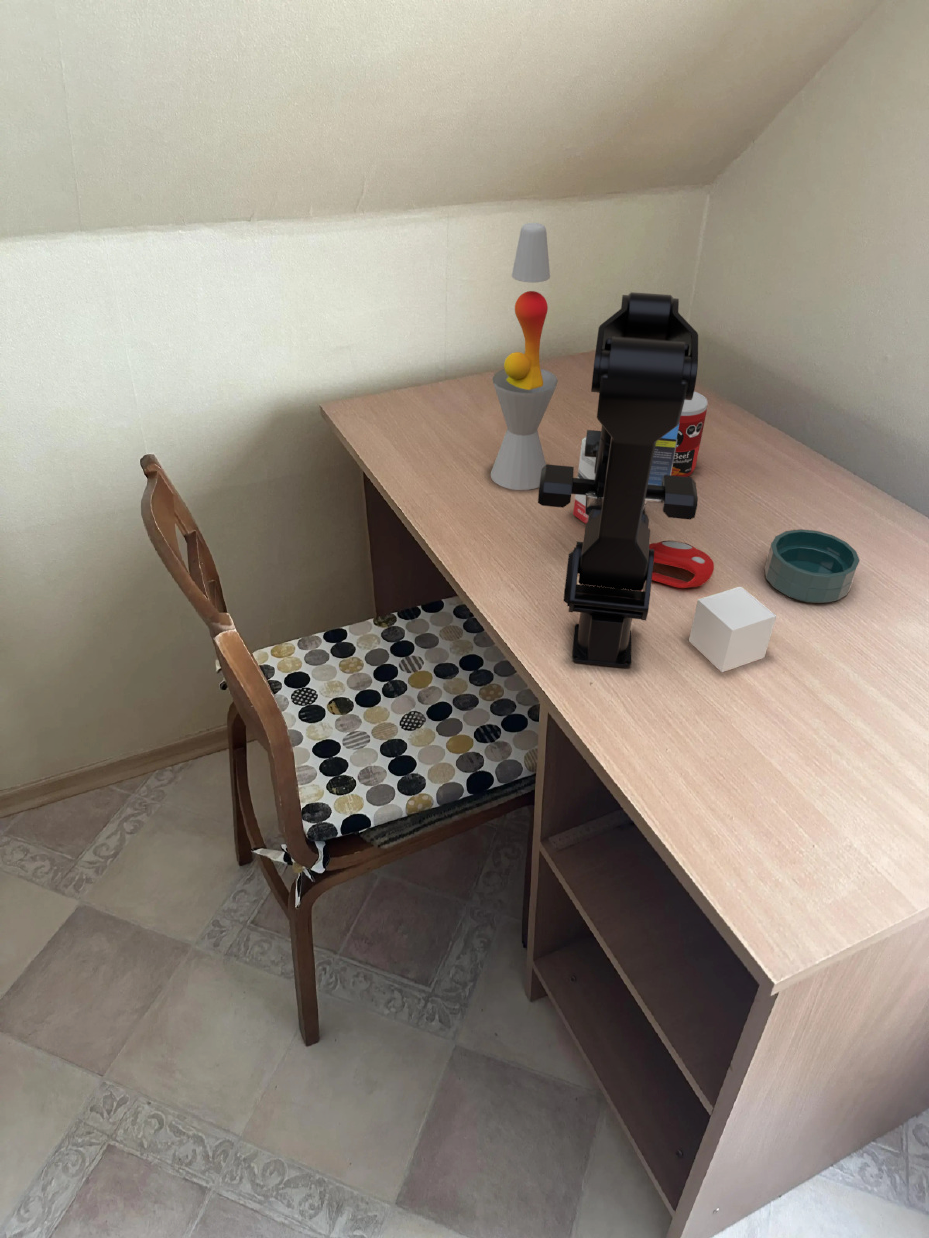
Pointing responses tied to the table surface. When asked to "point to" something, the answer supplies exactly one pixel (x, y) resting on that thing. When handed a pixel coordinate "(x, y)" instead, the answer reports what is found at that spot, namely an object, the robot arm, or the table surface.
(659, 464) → the label tape box
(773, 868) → the table surface
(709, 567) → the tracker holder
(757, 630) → the white cube
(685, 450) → the canned food
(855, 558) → the bowl
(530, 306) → the lava lamp
